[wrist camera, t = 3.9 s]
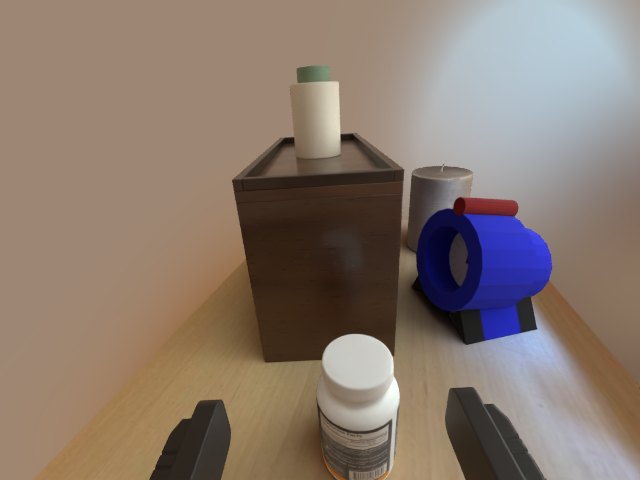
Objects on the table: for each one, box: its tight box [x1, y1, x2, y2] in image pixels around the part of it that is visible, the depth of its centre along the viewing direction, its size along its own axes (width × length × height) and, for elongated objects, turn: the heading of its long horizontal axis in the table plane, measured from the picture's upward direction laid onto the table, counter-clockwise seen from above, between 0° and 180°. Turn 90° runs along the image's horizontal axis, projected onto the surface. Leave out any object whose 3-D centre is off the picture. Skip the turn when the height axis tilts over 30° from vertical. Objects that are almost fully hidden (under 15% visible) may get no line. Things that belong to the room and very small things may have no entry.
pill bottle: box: [316, 334, 400, 480], centre depth 22 cm, size 6×6×10 cm
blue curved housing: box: [412, 197, 552, 345], centre depth 37 cm, size 12×12×15 cm
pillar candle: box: [407, 164, 473, 252], centre depth 53 cm, size 10×10×15 cm
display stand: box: [232, 133, 404, 362], centre depth 44 cm, size 34×14×20 cm, turn 0°
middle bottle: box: [290, 66, 341, 159], centre depth 38 cm, size 6×6×10 cm
